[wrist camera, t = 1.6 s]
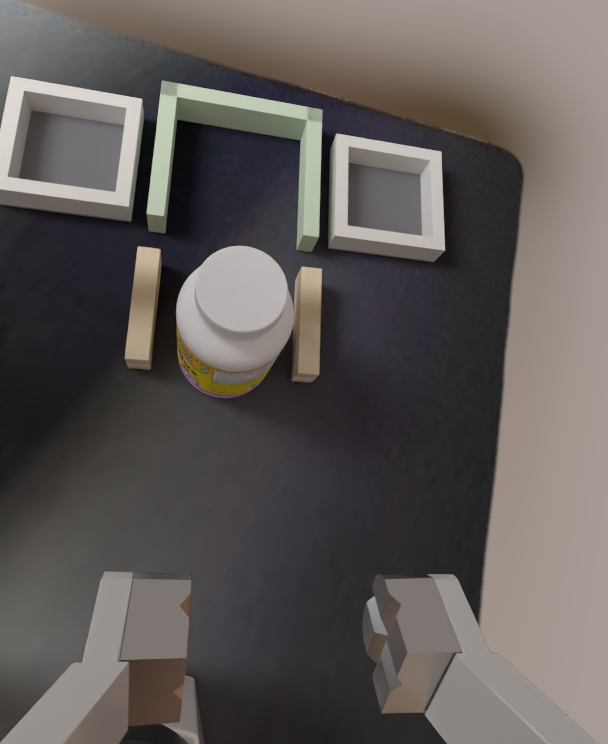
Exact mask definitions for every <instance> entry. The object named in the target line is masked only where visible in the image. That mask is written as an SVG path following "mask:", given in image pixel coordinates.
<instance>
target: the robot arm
mask: <svg viewBox="0 0 608 744" xmlns="http://www.w3.org/2000/svg"><path fill="white" fill-rule="evenodd" d="M372 588H373V592H374V597H372V598H371V599H370V600H368V601H367V602H366V606H365V609H364V613H363V627H362V628H363V637H364V643H365V648H366V652H367V654H368V655H369V656H370V657H371V658H372V659H373V660H374V661H375V662H376V664H377V666H376V668H375V671H374V673H373V676H372V677H373V681H374V685H375V690H376V694H377V698H378V702H379V706H380V710H381V713H424V712H426V713H425V716H426V717H427V719H428V720H429V721H430V722H431V724H432V725H433V726H434V728H435V729H436V730H437V731H438V733H439V734H440V735H441V737H442V738H443V739H444V740H445V742H446V743H447V744H599V743H598V742H596V741H595V740H594V739H593V738H592V737H591V736H590V735H588V734H587V732H585V731H584V730H583V729H582V728H581V727H580V726H579V725H578V724H577V723H575V722H574V721H573V720H572V719H571V718H570V717H569V716H568V715H567V714H565V713H564V712H563V711H562V710H561V709H560V708H559V707H558V706H556V705H555V704H554V703H553V702H552V701H551V700H550V699H549V698H548V697H547V696H545V695H544V694H543V693H542V692H541V691H540V690H539V689H538V688H537V687H535V686H534V685H533V684H532V683H531V682H530V681H529V680H528V679H527V678H525V677H524V676H523V675H522V674H521V673H520V672H519V671H518V670H517V669H515V668H514V667H513V666H512V665H511V664H510V663H509V662H508V661H507V660H506V659H504V658H503V657H502V656H501V655H500V654H499V653H491V652H490V650H489V648H488V646H487V643H486V641H485V639H484V637H483V635H482V632H481V630H480V628H479V626H478V623H477V621H476V619H475V617H474V614H473V612H472V610H471V608H470V606H469V603H468V601H467V599H466V597H465V594H464V592H463V590H462V588H461V586H460V583H459V581H458V579H457V578H456V577H455V576H454V575H453V574H379V575H378V576H377V577H375V580H374V583H373V585H372ZM190 593H191V574H183V573H153V572H109V571H105V572H104V574H103V576H102V579H101V581H100V586H99V590H98V595H97V599H96V603H95V608H94V612H93V617H92V621H91V626H90V630H89V634H88V639H87V643H86V648H85V652H84V657H83V661H82V662H78V663H72V664H71V665H70V666H69V667H68V669H67V670H66V671H65V672H64V673H63V674H62V675H61V676H60V677H59V678H58V680H57V681H56V682H55V683H54V684H53V685H52V686H51V687H50V688H49V689H48V691H47V692H46V693H45V694H44V695H43V696H42V697H41V698H40V699H39V700H38V701H37V703H36V704H35V705H34V706H33V707H32V708H31V709H30V710H29V711H28V712H27V714H26V715H25V716H24V717H23V718H22V719H21V720H20V721H19V722H18V723H17V725H16V726H15V727H14V728H13V729H12V730H11V731H10V732H9V733H8V734H7V736H6V737H5V738H4V739H3V740H2V741H1V742H0V744H119V743H120V741H121V740H122V738H123V737H124V735H125V734H126V732H127V730H128V726H138V725H151V724H164V723H178V722H180V717H181V708H182V700H183V684H184V680H185V669H186V657H187V642H188V627H189V618H188V616H189V605H190Z"/></svg>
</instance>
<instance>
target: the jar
mask: <svg viewBox="0 0 608 744" xmlns="http://www.w3.org/2000/svg"><path fill="white" fill-rule="evenodd" d="M119 744H205V743H204V737H203V730H202V724H201V718H200V711H199V705H198V699H197V692H196V686H195V680H194V678H192V677H190V676H186V675H185V680H184V684H183V700H182V708H181V717H180V722H178V723H164V724H151V725H138V726H128V730H127V732H126V734H125V735H124V737H123V738H122V740H121V741H120V743H119Z"/></svg>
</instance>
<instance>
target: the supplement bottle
mask: <svg viewBox="0 0 608 744" xmlns="http://www.w3.org/2000/svg"><path fill="white" fill-rule="evenodd" d="M176 320H177V353H178V359H179V364H180V367H181V369H182V371H183V373H184V375H185V377H186V378H187V379H188V381H189V382H190V383H191V384H192V385H193V386H194V387H196V388H197V389H198V390H200V391H201V392H203V393H205V394H207V395H210V396H213V397H219V398H232V397H237V396H241V395H243V394H246V393H248V392H250V391H251V390H253V389H254V388H255V387H256V386H258V385H259V384H260V383H261V381H262V380H263V379H264V378H265V376H266V375H267V373H268V371H269V370H270V368H271V367H272V365H273V363H274V362H275V360H276V358H277V357H278V355H279V354H280V352H281V351H282V349H283V348H284V346H285V344H286V343H287V341H288V339H289V337H290V334H291V331H292V328H293V322H294V308H293V302H292V299H291V296H290V293H289V291H288V285H287V281H286V278H285V275H284V273H283V271H282V269H281V268H280V266H279V265H278V264H277V262H276V261H275V260H274V259H273V258H271V257H270V256H269V255H267V254H266V253H264V252H262V251H260V250H258V249H255V248H252V247H247V246H232V247H227V248H224V249H221V250H219V251H217V252H215V253H214V254H212V255H211V256H210V257H208V258H207V259H206V261H205V262H204V263H203V264H202V266H200V267H199V268H197V269H196V270H195V271H194V272H193V273H192V274H191V275H190V276H189V277H188V278H187V280H186V281H185V283H184V284H183V286H182V288H181V290H180V293H179V296H178V300H177V307H176Z"/></svg>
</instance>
